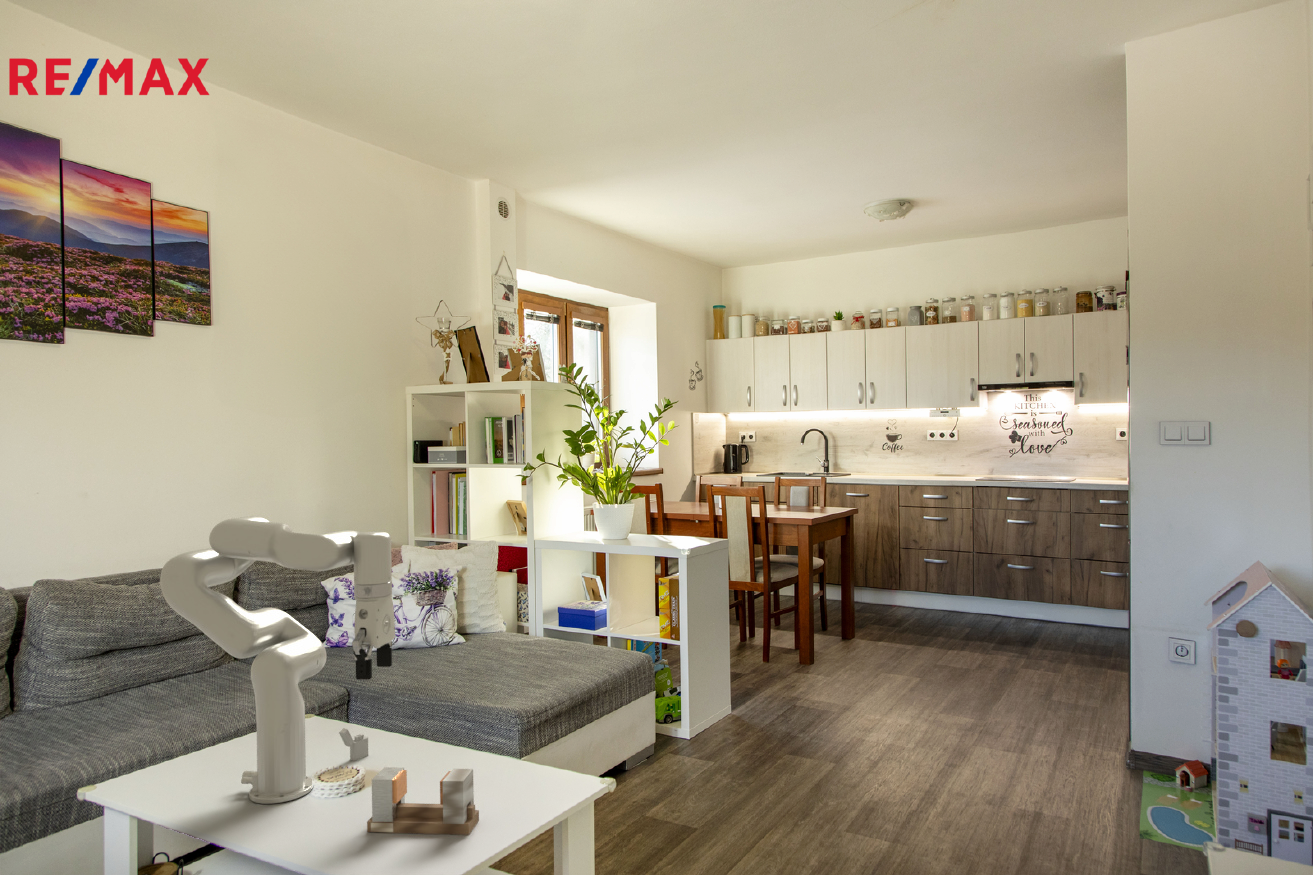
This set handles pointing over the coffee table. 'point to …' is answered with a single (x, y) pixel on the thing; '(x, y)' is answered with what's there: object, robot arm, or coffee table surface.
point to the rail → (437, 810)
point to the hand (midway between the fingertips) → (374, 672)
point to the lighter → (355, 744)
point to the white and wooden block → (388, 793)
